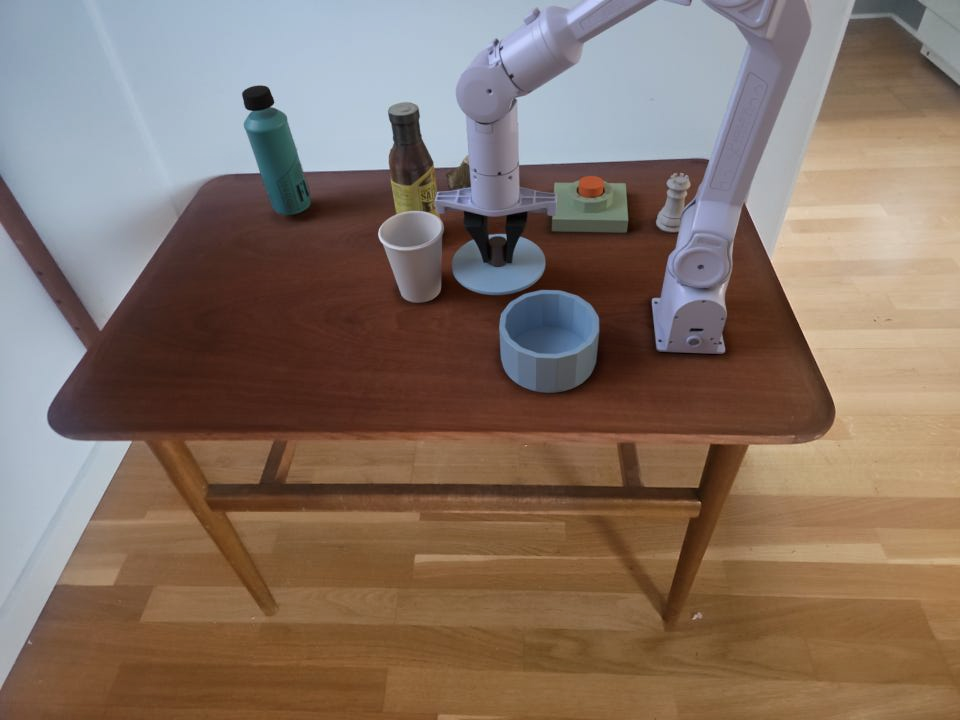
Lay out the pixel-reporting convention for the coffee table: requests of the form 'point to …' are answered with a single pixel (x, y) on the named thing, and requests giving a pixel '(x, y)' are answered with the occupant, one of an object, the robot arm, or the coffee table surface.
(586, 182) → the button
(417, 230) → the dixie cup
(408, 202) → the sauce bottle
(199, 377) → the coffee table surface
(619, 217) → the switch block
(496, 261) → the tin lid
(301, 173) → the beverage bottle
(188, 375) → the coffee table surface
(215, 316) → the coffee table surface
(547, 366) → the tin
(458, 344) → the coffee table surface
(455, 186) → the fossilized seashell
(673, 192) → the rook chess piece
